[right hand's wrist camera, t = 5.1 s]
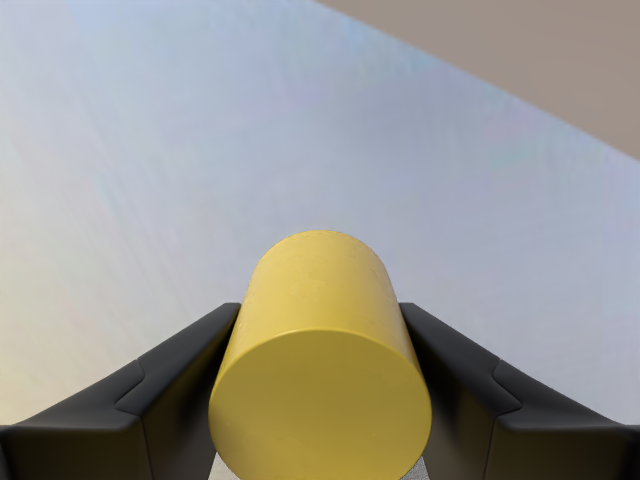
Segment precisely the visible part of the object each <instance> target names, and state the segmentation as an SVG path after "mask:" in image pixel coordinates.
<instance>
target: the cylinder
mask: <svg viewBox="0 0 640 480" xmlns="http://www.w3.org/2000/svg"><path fill="white" fill-rule="evenodd" d="M432 423H433V407H432V401H431V397H430V394H429V391H428V388H427V385H426V382H425V379H424V376H423V373H422V370H421V368H420V365H419V362H418V359H417V356H416V353H415V350H414V347H413V344H412V342H411V339H410V336H409V333H408V330H407V327H406V324H405V321H404V319H403V316H402V313H401V310H400V307H399V304H398V301H397V298H396V296H395V293H394V290H393V287H392V284H391V281H390V278H389V275H388V272H387V270H386V268H385V266H384V264H383V263H382V261H381V260H380V258H379V257H378V256H377V255H376V254H375V252H374V251H373V250H372V249H371V248H369V247H368V246H367V245H366V244H364V243H363V242H361V241H359V240H358V239H356V238H354V237H351V236H349V235H347V234H343V233H340V232H335V231H329V230H312V231H305V232H301V233H297V234H294V235H291V236H289V237H287V238H285V239H283V240H281V241H279V242H278V243H276V244H275V245H274V246H272V247H271V248H270V249H269V250H268V251H267V252H266V253H265V254H264V255H263V256H262V258H261V259H260V260H259V262H258V264H257V265H256V267H255V269H254V271H253V274H252V277H251V279H250V282H249V285H248V288H247V291H246V294H245V297H244V300H243V303H242V306H241V308H240V311H239V314H238V317H237V320H236V323H235V326H234V329H233V332H232V335H231V338H230V340H229V343H228V346H227V349H226V352H225V355H224V358H223V361H222V364H221V367H220V369H219V372H218V375H217V378H216V381H215V384H214V387H213V390H212V393H211V397H210V400H209V407H208V425H209V430H210V434H211V438H212V441H213V443H214V446H215V448H216V450H217V452H218V454H219V455H220V457H221V459H222V460H223V461H224V463H225V464H226V465H227V467H228V468H229V469H230V470H231V471H232V472H233V473H234V474H235V475H236V476H237V477H238V478H240V479H241V480H400V479H401V478H402V477H403V476H405V475H406V474H407V473H408V472H409V471H410V470H411V469H412V467H413V466H414V465H415V464H416V463H417V461H418V460H419V458H420V457H421V456H422V454H423V452H424V450H425V448H426V446H427V443H428V440H429V437H430V434H431V429H432Z"/></svg>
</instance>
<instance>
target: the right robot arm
mask: <svg viewBox="0 0 640 480" xmlns="http://www.w3.org/2000/svg"><path fill="white" fill-rule="evenodd" d="M398 304H399V307H400V310H401V313H402V316H403V319H404V321H405V324H406V327H407V330H408V333H409V336H410V339H411V342H412V344H413V347H414V350H415V353H416V356H417V359H418V362H419V365H420V368H421V370H422V373H423V376H424V379H425V382H426V385H427V388H428V391H429V394H430V397H431V401H432V407H433V423H432V429H431V434H430V437H429V440H428V443H427V446H426V448H425V450H424V452H423V454H422V456H423V459H424V462H425V466H426V469H427V472H428V476H429V479H430V480H640V425H624V424H621V423H618V422H615V421H612V420H610V419H608V418H606V417H604V416H602V415H600V414H598V413H597V412H595V411H593V410H591V409H589V408H587V407H585V406H583V405H582V404H580V403H578V402H576V401H574V400H572V399H570V398H568V397H566V396H565V395H563V394H561V393H559V392H557V391H555V390H553V389H551V388H550V387H548V386H546V385H544V384H542V383H541V382H539V381H537V380H535V379H533V378H531V377H530V376H528V375H526V374H525V373H523V372H521V371H520V370H518V369H517V368H515V367H513V366H512V365H510V364H509V363H507V362H505V361H504V360H500V358H499V357H497V356H496V355H494V354H493V353H491V352H489V351H488V350H486V349H485V348H483V347H482V346H480V345H478V344H477V343H475V342H474V341H472V340H470V339H469V338H467V337H466V336H464V335H463V334H461V333H459V332H458V331H456V330H455V329H453V328H452V327H450V326H448V325H447V324H445V323H444V322H442V321H440V320H439V319H437V318H436V317H434V316H433V315H431V314H429V313H428V312H426V311H425V310H423V309H421V308H420V307H418V306H417V305H415V304H414V303H398ZM241 306H242V305H241V304H240V303H225V304H223V305H221V306H220V307H218V308H217V309H215V310H213V311H212V312H210V313H209V314H207V315H205V316H204V317H202V318H201V319H199V320H198V321H196V322H194V323H193V324H191V325H190V326H188V327H186V328H185V329H183V330H182V331H180V332H178V333H177V334H175V335H174V336H172V337H170V338H169V339H167V340H166V341H164V342H162V343H161V344H159V345H158V346H156V347H154V348H153V349H151V350H150V351H148V352H146V353H145V354H143V355H142V356H140V357H138V358H137V360H134V361H132V362H130V363H129V364H127V365H126V366H124V367H122V368H121V369H119V370H117V371H116V372H114V373H112V374H111V375H109V376H107V377H106V378H104V379H102V380H100V381H98V382H97V383H95V384H93V385H91V386H89V387H87V388H86V389H84V390H82V391H80V392H78V393H76V394H74V395H72V396H70V397H69V398H67V399H65V400H63V401H61V402H59V403H57V404H55V405H53V406H51V407H50V408H48V409H46V410H44V411H42V412H40V413H38V414H36V415H34V416H32V417H30V418H28V419H26V420H24V421H21V422H19V423H16V424H13V425H0V480H208V478H209V475H210V471H211V468H212V465H213V462H214V458H215V455H216V452H217V450H216V448H215V446H214V443H213V441H212V438H211V434H210V430H209V425H208V407H209V400H210V397H211V393H212V390H213V387H214V384H215V381H216V378H217V375H218V372H219V369H220V367H221V364H222V361H223V358H224V355H225V352H226V349H227V346H228V343H229V340H230V338H231V335H232V332H233V329H234V326H235V323H236V320H237V317H238V314H239V311H240V308H241Z"/></svg>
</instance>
